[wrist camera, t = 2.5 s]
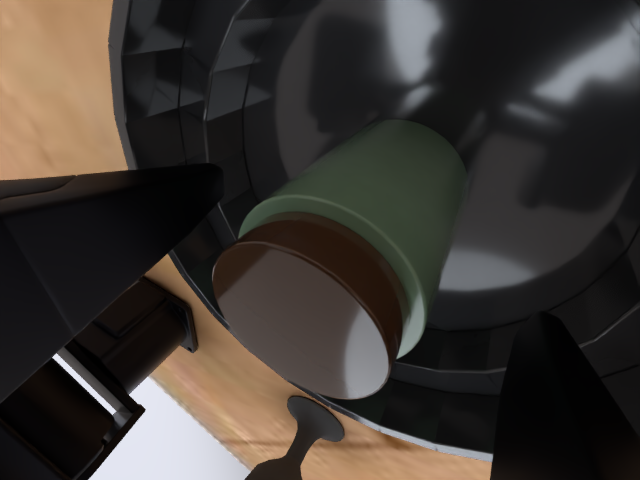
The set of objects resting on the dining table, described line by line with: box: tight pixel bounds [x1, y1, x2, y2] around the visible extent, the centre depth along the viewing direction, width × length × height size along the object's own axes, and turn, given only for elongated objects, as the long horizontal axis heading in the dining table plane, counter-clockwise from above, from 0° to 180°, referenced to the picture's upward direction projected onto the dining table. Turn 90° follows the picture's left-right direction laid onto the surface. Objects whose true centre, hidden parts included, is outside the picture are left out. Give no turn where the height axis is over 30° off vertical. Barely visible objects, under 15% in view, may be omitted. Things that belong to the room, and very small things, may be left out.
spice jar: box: [212, 119, 469, 399], centre depth 9 cm, size 5×5×7 cm
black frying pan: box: [108, 0, 640, 462], centre depth 10 cm, size 16×16×4 cm
